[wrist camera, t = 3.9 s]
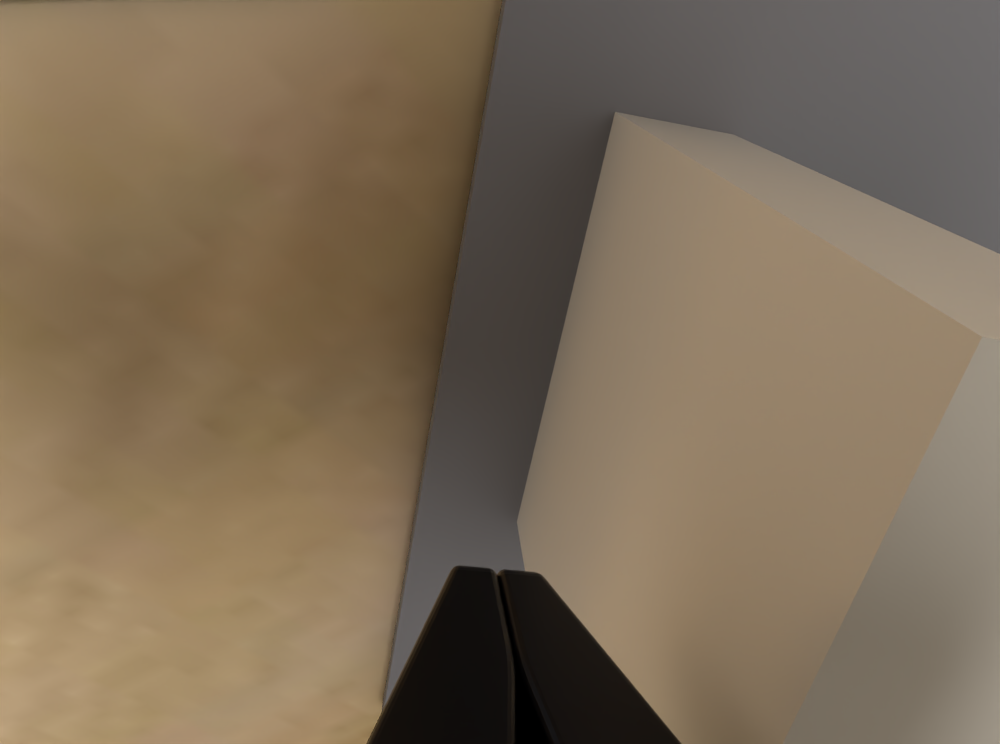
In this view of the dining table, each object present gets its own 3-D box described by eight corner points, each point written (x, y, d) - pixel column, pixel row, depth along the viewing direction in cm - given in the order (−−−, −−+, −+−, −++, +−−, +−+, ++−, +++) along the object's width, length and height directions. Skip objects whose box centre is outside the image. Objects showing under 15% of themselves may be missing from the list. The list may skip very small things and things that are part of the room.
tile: (618, 532, 16) (816, 1089, 8) (516, 522, 15) (611, 1092, 7) (742, 136, 12) (1313, 389, 4) (615, 111, 12) (981, 336, 4)
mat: (1044, 746, 21) (1061, 766, 20) (382, 702, 18) (381, 724, 18) (1629, -91, 13) (1681, -96, 12) (571, -406, 10) (579, -428, 9)
